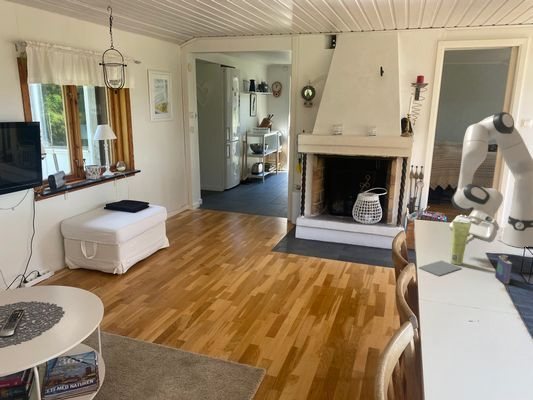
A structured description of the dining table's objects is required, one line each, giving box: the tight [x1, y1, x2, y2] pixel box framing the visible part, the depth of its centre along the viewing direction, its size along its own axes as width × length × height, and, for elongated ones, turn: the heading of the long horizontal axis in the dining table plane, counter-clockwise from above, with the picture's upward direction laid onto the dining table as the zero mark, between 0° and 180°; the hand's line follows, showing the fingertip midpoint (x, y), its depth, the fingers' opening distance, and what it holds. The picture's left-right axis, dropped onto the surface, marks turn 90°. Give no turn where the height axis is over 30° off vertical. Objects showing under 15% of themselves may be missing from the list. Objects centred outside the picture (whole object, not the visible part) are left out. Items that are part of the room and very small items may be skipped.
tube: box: [449, 220, 471, 266], centre depth 180 cm, size 6×5×20 cm
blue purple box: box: [494, 254, 513, 285], centre depth 164 cm, size 9×3×11 cm, turn 172°
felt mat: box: [418, 260, 463, 277], centre depth 176 cm, size 16×10×1 cm, turn 122°
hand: (463, 242), depth 183 cm, fingers closed
